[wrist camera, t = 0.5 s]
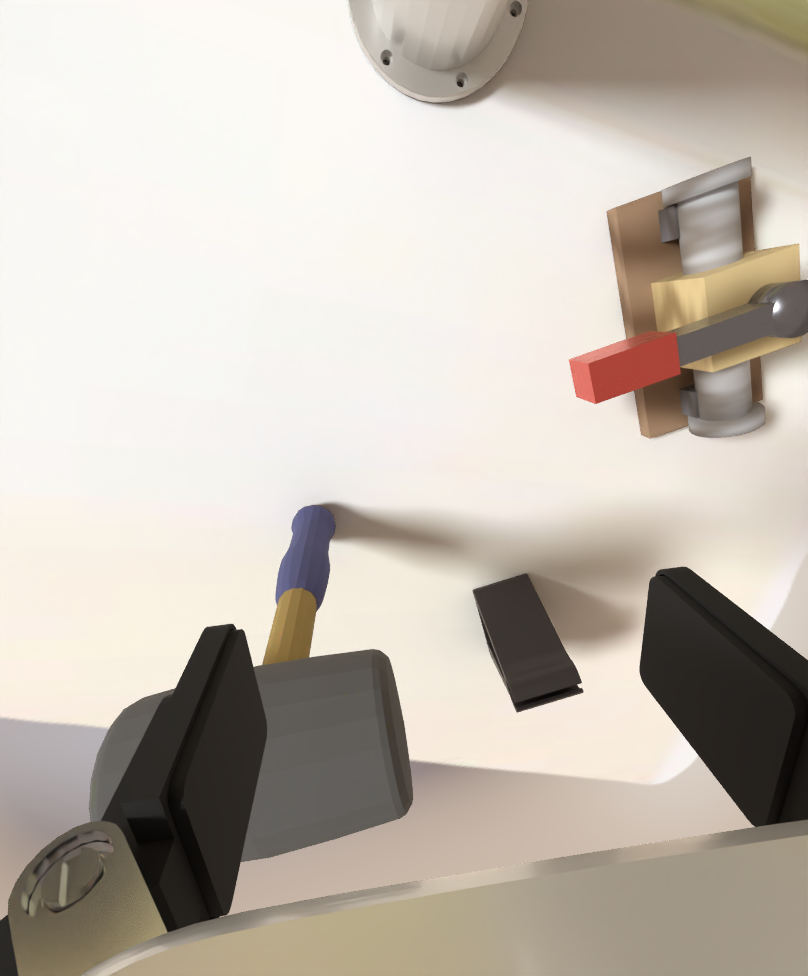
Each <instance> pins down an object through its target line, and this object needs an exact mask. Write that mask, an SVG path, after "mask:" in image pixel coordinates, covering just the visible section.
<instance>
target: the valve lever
mask: <svg viewBox="0 0 808 976" xmlns="http://www.w3.org/2000/svg"><path fill="white" fill-rule="evenodd" d="M807 332H808V280H801V281H789V282H777V283H770V284H767V285H764V286H763V287H761V288H760V289H758V290H757V291H756V292H755V293H754V294H753V295H752V297H751V298H750V300H749V302H748V303H747V304H744V305H741V306H738V307H735V308H732V309H730V310H727V311H724V312H721V313H718V314H716V315H713V316H710V317H707V318H704V319H701V320H699V321H696V322H693V323H690V324H687V325H685V326H682V327H679V328H676V329H673V330H670V331H668V332H658V331H648V332H645V333H642V334H640V335H637V336H634V337H631V338H628V339H626V340H623V341H620V342H617V343H614V344H611V345H609V346H606V347H603V348H600V349H597V350H595V351H592V352H589V353H586V354H583V355H581V356H578V357H575V358H572V359H569V363H570V368H571V373H572V378H573V383H574V387H575V392H576V397H578V398H581V399H584V400H586V401H589V402H592V403H595V404H597V403H600V402H602V401H605V400H608V399H611V398H614V397H617V396H620V395H622V394H625V393H628V392H631V391H634V390H637V389H639V388H642V387H645V386H648V385H651V384H654V383H656V382H659V381H662V380H665V379H668V378H671V377H674V376H676V375H679V374H681V371H680V367H681V366H684V365H686V364H689V363H692V362H695V361H698V360H701V359H703V358H706V357H709V356H712V355H715V354H718V353H720V352H723V351H726V350H729V349H732V348H735V347H737V346H740V345H743V344H746V343H749V342H752V341H754V340H757V339H760V338H763V337H776V338H796V337H800V336H802V335H804V334H806V333H807Z"/></svg>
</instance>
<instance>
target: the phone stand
mask: <svg viewBox="0 0 808 976" xmlns="http://www.w3.org/2000/svg"><path fill="white" fill-rule="evenodd" d="M473 593H474V597H475V601H476V604H477V608H478V612H479V615H480V619H481V622H482V626H483V630H484V633H485V637H486V641H487V644H488V648H489V652H490V655H491V657H492V659H493V661H494V663H495V665H496V668H497V670H498V672H499V674H500V676H501V678H502V680H503V682H504V684H505V686H506V688H507V690H508V692H509V695H510V697H511V700H512V702H513V705H514V707H515V710H516V712H521V711H524V710H527V709H531V708H534V707H537V706H541V705H544V704H547V703H551V702H554V701H557V700H561V699H564V698H567V697H571V696H574V695H577V694H581V693H583V689H582V688H579V687H578V686H577V684H580V683H582V682H581V679H580V676H579V674H578V671H577V669H576V667H575V665H574V663H573V662H572V660H571V659H570V657H569V656H568V654H567V653H566V651H565V649H564V647H563V645H562V643H561V641H560V639H559V637H558V635H557V633H556V631H555V629H554V627H553V625H552V623H551V621H550V619H549V617H548V615H547V613H546V611H545V609H544V607H543V605H542V603H541V601H540V599H539V597H538V595H537V593H536V591H535V589H534V587H533V585H532V583H531V581H530V579H529V577H528V575H527V574H524V575H521V576H517V577H514V578H511V579H508V580H504V581H501V582H498V583H494V584H491V585H488V586H484V587H481V588H478V589H474V590H473Z"/></svg>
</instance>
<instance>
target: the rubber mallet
mask: <svg viewBox="0 0 808 976" xmlns="http://www.w3.org/2000/svg"><path fill="white" fill-rule="evenodd" d="M335 526H336V525H335V521H334V517H333V515H332V514H331V513H330V511H328V510H326V509H325V508H323V507H321V506H317V505H311V506H306V507H303V508H302V509H300V510H299V511H298V513H297V514H296V516H295V517H294V519H293V522H292V532H293V536H292V540H291V543H290V547H289V549H288V551H287V553H286V554H285V556H284V558H283V559H282V562H281V565H280V568H279V573H278V579H277V587H276V603H277V609H276V613H275V617H274V621H273V625H272V629H271V633H270V637H269V640H268V644H267V648H266V652H265V656H264V660H263V664H262V665H261V666H256V667H253V668H254V672H255V676H256V680H257V684H258V688H259V692H260V696H261V700H262V704H263V708H264V712H265V716H266V720H267V739H266V744H265V749H264V753H263V758H262V763H261V768H260V772H259V777H258V782H257V786H256V791H255V796H254V801H253V805H252V810H251V815H250V820H249V824H248V829H247V834H246V838H245V843H244V848H243V853H242V857H241V862H244V861H250V860H257V859H263V858H269V857H273V856H277V855H280V854H284V853H287V852H291V851H294V850H298V849H301V848H305V847H308V846H312V845H316V844H319V843H323V842H326V841H329V840H333V839H337V838H340V837H343V836H346V835H349V834H352V833H355V832H359V831H362V830H365V829H368V828H371V827H374V826H378V825H381V824H384V823H387V822H390V821H393V820H396V819H400V818H401V817H403V816H404V815H406V814H407V812H408V810H409V808H410V806H411V804H412V801H413V788H412V778H411V769H410V762H409V754H408V747H407V740H406V734H405V727H404V721H403V716H402V711H401V706H400V701H399V696H398V691H397V687H396V682H395V678H394V674H393V670H392V666H391V663H390V660H389V657H388V656H386V655H385V654H384V653H383V652H381V651H380V650H375V649H371V650H363V651H356V652H348V653H340V654H333V655H325V656H317V657H311V658H309V654H310V648H311V641H312V635H313V628H314V622H315V616H316V612H317V610H318V609H319V607H320V606H321V604H322V601H323V599H324V595H325V592H326V588H327V584H328V579H329V572H330V563H329V556H328V550H329V542H330V539H331V538H332V536H333V535H334V532H335ZM174 691H175V689H172V690H168V691H165V692H161V693H158V694H155V695H151V696H148V697H144V698H142V699H140V700H139V701H137V702H135V703H134V704H132V705H130V706H129V707H127V708H125V709H124V710H123V711H122V712H121V714H120V715H119V716H118V717H117V719H116V720H115V721H114V722H113V724H112V725H111V727H110V728H109V730H108V732H107V734H106V737H105V739H104V741H103V743H102V745H101V747H100V749H99V752H98V754H97V758H96V762H95V766H94V770H93V774H92V778H91V787H90V801H89V812H90V821H91V822H95V821H101V819H102V817H103V815H104V813H105V811H106V809H107V807H108V805H109V803H110V801H111V799H112V797H113V795H114V793H115V791H116V789H117V787H118V785H119V783H120V781H121V779H122V777H123V775H124V773H125V771H126V769H127V767H128V765H129V763H130V761H131V759H132V757H133V755H134V753H135V751H136V749H137V748H138V746H139V744H140V742H141V740H142V738H143V736H144V734H145V732H146V730H147V728H148V726H149V724H150V722H151V720H152V718H153V716H154V714H155V712H156V710H157V708H158V706H159V704H160V702H161V701H162V699H163V698H164V697H166V696H167V695H171V694H173V693H174Z"/></svg>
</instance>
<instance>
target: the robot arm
mask: <svg viewBox="0 0 808 976" xmlns="http://www.w3.org/2000/svg"><path fill="white" fill-rule="evenodd" d="M527 5H528V0H348V6H349V13H350V17H351V20H352V24H353V27H354V31H355V34H356V37H357V39H358V41H359V43H360V45H361V47H362V50H363V52H364V54H365V55H366V57H367V58H368V60H369V61H370V63H371V64H372V66H373V67H374V68H375V70H376V71H377V72H378V73H379V74H380V75H381V76H382V77H383V78H384V79H385V80H386V81H387V82H388V83H389V84H390V85H392V86H393V87H394V88H396V89H397V90H399V91H400V92H402V93H403V94H406V95H408V96H410V97H413V98H415V99H418V100H422V101H428V102H434V103H437V102H451V101H454V100H457V99H461V98H464V97H467V96H468V95H470V94H472V93H474V92H475V91H477V90H479V89H481V88H482V87H483V86H484V85H485V84H486V83H487V82H489V81H490V80H491V79H492V78H493V77H494V76H495V75H496V73H497V72H498V71H499V69H500V68H501V67H502V66H503V64H504V63H505V62H506V60H507V58H508V56H509V54H510V53H511V51H512V50H513V48H514V46H515V43H516V41H517V39H518V36H519V34H520V32H521V29H522V26H523V22H524V19H525V15H526V11H527ZM511 13H513V14H514V15H515V17H513V16H512V15H511ZM384 60H387V61H389V63H390V64H389V65H384V64H383V61H384ZM457 82H461V83H462V85H463V87H459V86H458V85H457ZM640 676H641V679H642V681H643V683H644V685H645V686H646V688H647V689H648V690H649V692H650V693H651V694H652V695H653V697H654V698H655V699H656V701H657V702H658V703H659V705H660V706H661V707H662V708H663V710H664V711H665V712H666V714H667V715H668V716H669V718H670V719H671V720H672V721H673V723H674V724H675V725H676V727H677V728H678V729H679V731H680V732H681V733H682V734H683V736H684V737H685V738H686V740H687V741H688V742H689V744H690V745H691V746H692V747H693V749H694V750H695V751H696V753H697V754H698V755H699V757H700V758H701V759H702V760H703V762H704V763H705V764H706V766H707V767H708V768H709V770H710V771H711V772H712V773H713V775H714V776H715V777H716V779H717V780H718V781H719V783H720V784H721V785H722V786H723V788H724V789H725V790H726V792H727V793H728V794H729V796H730V797H731V798H732V799H733V801H734V802H735V803H736V805H737V806H738V807H739V809H740V810H741V811H742V812H743V813H744V815H745V816H746V818H747V819H748V820H749V821H750V822H751V824H752V825H754V826H755V827H754V828H747V829H741V830H734V831H727V832H721V833H714V834H708V835H701V836H695V837H688V838H682V839H676V840H669V841H662V842H656V843H649V844H643V845H636V846H630V847H624V848H618V849H611V850H605V851H599V852H593V853H586V854H580V855H574V856H568V857H561V858H555V859H549V860H543V861H536V862H530V863H524V864H518V865H512V866H505V867H499V868H493V869H487V870H481V871H475V872H469V873H463V874H456V875H450V876H445V877H438V878H432V879H426V880H420V881H414V882H408V883H402V884H397V885H390V886H384V887H379V888H373V889H366V890H361V891H354V892H349V893H343V894H337V895H331V896H326V897H321V898H315V899H310V900H304V901H299V902H294V903H289V904H283V905H278V906H272V907H267V908H262V909H256V910H251V911H246V912H241V913H238V914H233V915H229V916H224V915H227V914H228V913H229V910H230V908H231V904H232V900H233V895H234V890H235V885H236V881H237V876H238V871H239V867H240V862H241V857H242V853H243V848H244V843H245V838H246V834H247V829H248V824H249V820H250V815H251V810H252V805H253V801H254V796H255V791H256V786H257V782H258V777H259V772H260V768H261V763H262V758H263V753H264V749H265V744H266V739H267V720H266V716H265V712H264V708H263V704H262V700H261V696H260V692H259V688H258V684H257V680H256V676H255V672H254V668H253V664H252V660H251V656H250V652H249V648H248V644H247V640H246V636H245V632H244V631H243V630H242V629H240V630H236V627H235V626H234V625H233V624H226V625H219V626H211V627H206V628H205V629H204V631H203V632H202V634H201V637H200V639H199V641H198V643H197V645H196V647H195V649H194V651H193V653H192V655H191V657H190V659H189V661H188V664H187V666H186V668H185V670H184V672H183V674H182V676H181V678H180V680H179V682H178V684H177V686H176V688H175V691H174V693H173V694H171V695H167V696H166V697H164V698H163V699H162V701H161V702H160V704H159V706H158V708H157V710H156V712H155V714H154V716H153V718H152V720H151V722H150V724H149V726H148V728H147V730H146V732H145V734H144V736H143V738H142V740H141V742H140V744H139V746H138V748H137V749H136V751H135V753H134V755H133V757H132V759H131V761H130V763H129V765H128V767H127V769H126V771H125V773H124V775H123V777H122V779H121V781H120V783H119V785H118V787H117V789H116V791H115V793H114V795H113V797H112V799H111V801H110V803H109V805H108V807H107V809H106V811H105V813H104V815H103V817H102V819H101V821H95V822H89V823H86V824H83V825H80V826H77V827H75V828H73V829H71V830H69V831H68V832H66V833H64V834H62V835H61V836H59V837H57V838H56V839H55V840H54V841H52V842H51V843H50V844H49V845H47V846H46V847H45V848H44V849H42V850H41V851H40V852H39V853H38V854H37V855H36V856H35V858H34V859H33V860H32V861H31V862H30V863H29V864H28V865H27V866H26V868H25V869H24V871H23V872H22V874H21V875H20V877H19V878H18V880H17V882H16V883H15V885H14V888H13V890H12V893H11V895H10V898H9V903H8V904H9V905H8V915H7V916H6V917H4V918H3V919H2V920H0V976H808V660H807V659H805V658H804V657H803V656H802V655H800V654H799V653H798V652H796V651H795V650H794V649H793V648H791V647H790V646H788V645H787V644H786V643H785V642H784V641H782V640H781V639H780V638H778V637H777V636H776V635H774V634H773V633H772V632H771V631H769V630H768V629H767V628H765V627H764V626H763V625H762V624H760V623H759V622H758V621H756V620H755V619H754V618H753V617H751V616H750V615H749V614H747V613H746V612H745V611H743V610H742V609H741V608H740V607H738V606H737V605H736V604H734V603H733V602H732V601H731V600H729V599H728V598H727V597H725V596H724V595H723V594H722V593H720V592H719V591H718V590H716V589H715V588H714V587H712V586H711V585H710V584H709V583H707V582H706V581H705V580H703V579H702V578H701V577H700V576H698V575H697V574H696V573H694V572H693V571H692V570H691V569H689V568H687V567H677V568H669V569H661V570H659V571H658V572H657V573H656V576H655V577H652V578H651V580H650V583H649V591H648V600H647V608H646V617H645V625H644V634H643V643H642V651H641V660H640ZM220 916H224V917H220ZM219 917H220V918H219Z"/></svg>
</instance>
